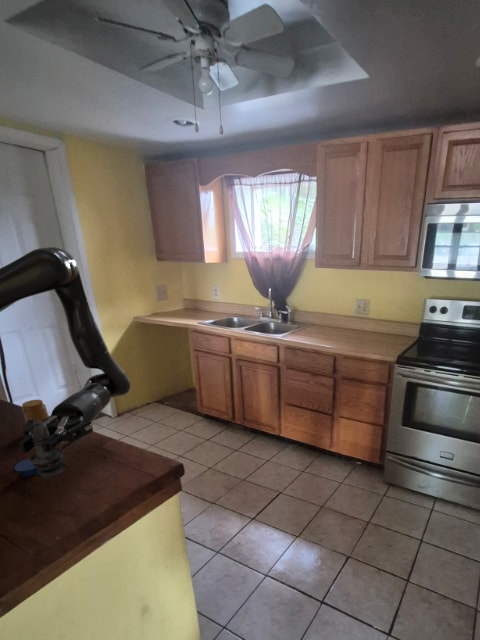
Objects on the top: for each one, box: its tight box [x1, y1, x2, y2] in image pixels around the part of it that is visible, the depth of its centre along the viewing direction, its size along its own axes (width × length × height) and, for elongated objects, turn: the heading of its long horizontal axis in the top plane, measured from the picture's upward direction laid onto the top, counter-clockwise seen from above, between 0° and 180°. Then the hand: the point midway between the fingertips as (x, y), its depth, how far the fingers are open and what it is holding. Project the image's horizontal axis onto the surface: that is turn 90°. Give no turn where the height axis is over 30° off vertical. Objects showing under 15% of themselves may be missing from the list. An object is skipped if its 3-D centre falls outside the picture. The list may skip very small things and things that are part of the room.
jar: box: [21, 399, 50, 424], centre depth 103 cm, size 5×5×10 cm
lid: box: [13, 457, 38, 478], centre depth 89 cm, size 6×6×2 cm
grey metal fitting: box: [30, 419, 67, 479], centre depth 75 cm, size 6×6×12 cm
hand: (33, 448), depth 72 cm, fingers closed on grey metal fitting, 3 cm apart
